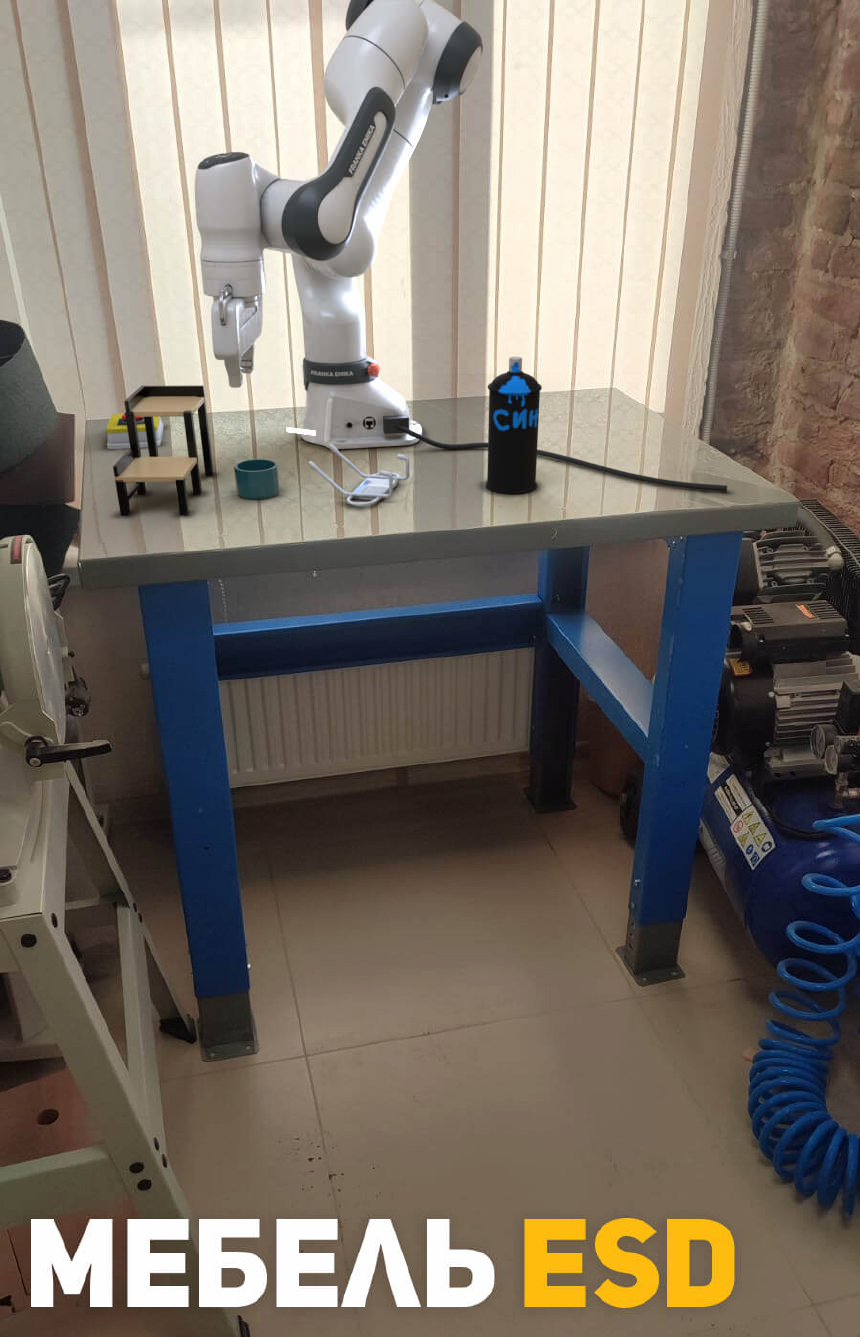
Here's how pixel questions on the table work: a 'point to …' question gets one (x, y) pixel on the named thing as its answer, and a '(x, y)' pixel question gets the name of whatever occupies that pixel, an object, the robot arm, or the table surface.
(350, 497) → the wall mount rack
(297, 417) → the table surface
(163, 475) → the rack
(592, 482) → the table surface
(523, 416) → the aerosol can
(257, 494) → the cup
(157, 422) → the emergency button
